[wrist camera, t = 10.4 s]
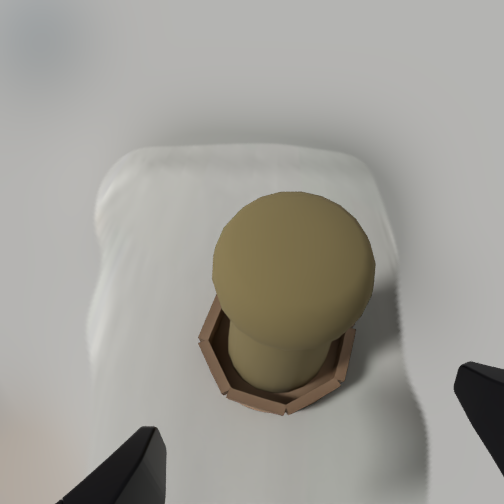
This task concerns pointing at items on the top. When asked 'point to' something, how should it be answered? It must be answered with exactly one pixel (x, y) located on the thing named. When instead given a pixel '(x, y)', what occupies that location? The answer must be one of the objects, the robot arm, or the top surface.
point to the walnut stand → (245, 394)
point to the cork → (290, 286)
